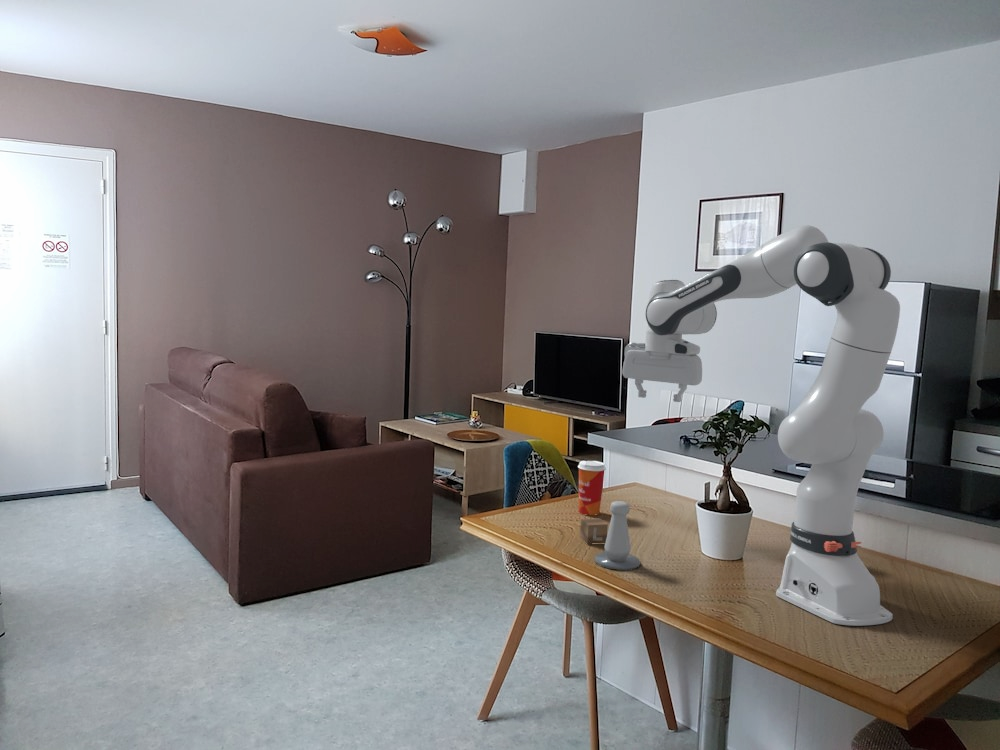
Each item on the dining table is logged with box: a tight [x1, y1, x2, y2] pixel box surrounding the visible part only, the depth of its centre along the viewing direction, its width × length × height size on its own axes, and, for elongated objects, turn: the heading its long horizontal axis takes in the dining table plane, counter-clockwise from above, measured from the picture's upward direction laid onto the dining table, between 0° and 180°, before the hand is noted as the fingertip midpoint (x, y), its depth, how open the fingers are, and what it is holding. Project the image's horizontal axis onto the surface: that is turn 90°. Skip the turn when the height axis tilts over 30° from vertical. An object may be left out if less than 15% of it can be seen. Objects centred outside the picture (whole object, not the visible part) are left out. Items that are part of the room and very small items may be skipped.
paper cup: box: [577, 460, 607, 516], centre depth 210 cm, size 8×8×14 cm
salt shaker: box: [603, 500, 631, 562], centre depth 171 cm, size 6×6×13 cm
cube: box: [579, 517, 609, 545], centre depth 186 cm, size 5×5×5 cm
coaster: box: [594, 551, 641, 571], centre depth 172 cm, size 10×10×1 cm
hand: (659, 399), depth 194 cm, fingers open, 8 cm apart
